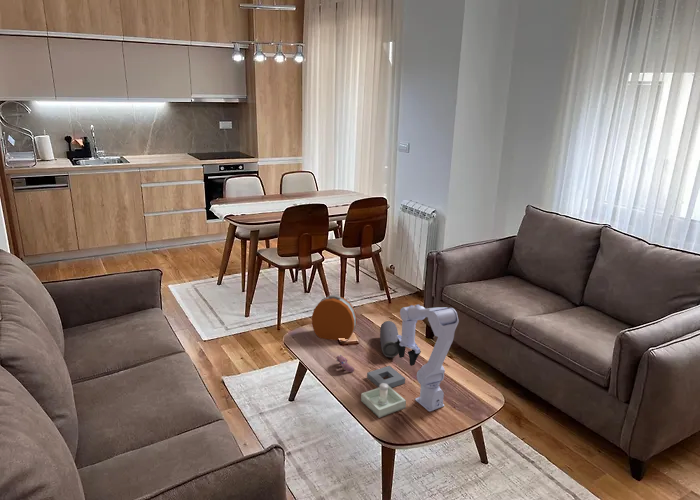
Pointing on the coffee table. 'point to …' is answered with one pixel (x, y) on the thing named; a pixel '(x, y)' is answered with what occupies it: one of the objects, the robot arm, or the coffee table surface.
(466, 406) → the coffee table surface
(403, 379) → the grey square frame
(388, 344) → the bluetooth speaker
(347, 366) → the video game controller
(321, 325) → the alarm clock
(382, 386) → the cylinder
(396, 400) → the parts tray
